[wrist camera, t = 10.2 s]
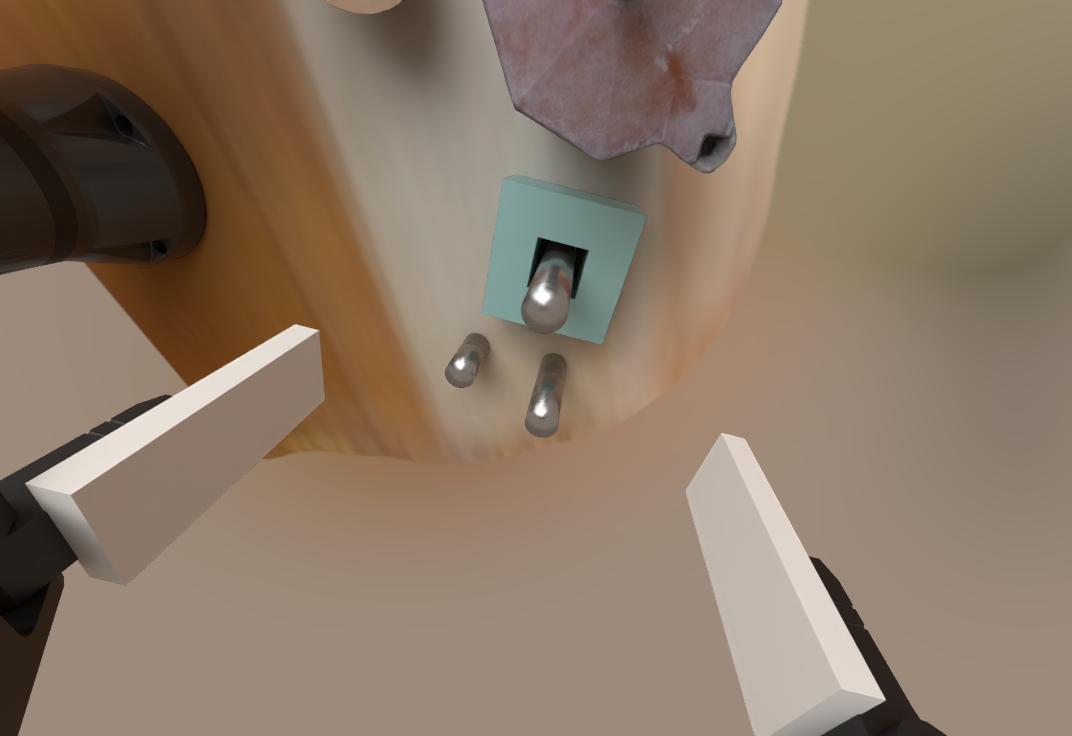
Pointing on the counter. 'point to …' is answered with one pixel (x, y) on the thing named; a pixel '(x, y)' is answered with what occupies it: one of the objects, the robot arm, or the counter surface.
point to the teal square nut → (570, 221)
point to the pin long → (550, 290)
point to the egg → (364, 5)
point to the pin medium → (547, 397)
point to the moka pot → (630, 70)
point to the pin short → (467, 361)
